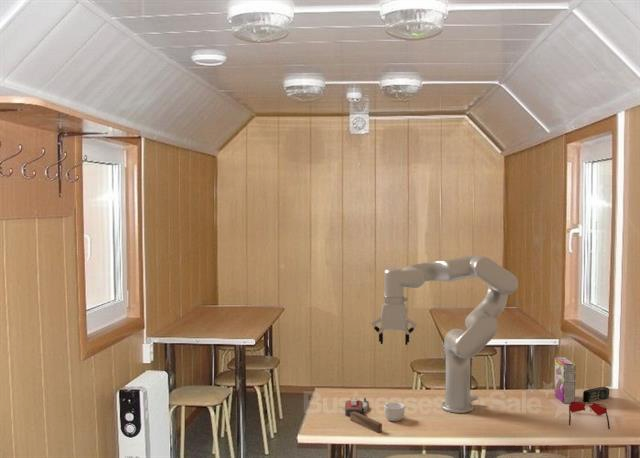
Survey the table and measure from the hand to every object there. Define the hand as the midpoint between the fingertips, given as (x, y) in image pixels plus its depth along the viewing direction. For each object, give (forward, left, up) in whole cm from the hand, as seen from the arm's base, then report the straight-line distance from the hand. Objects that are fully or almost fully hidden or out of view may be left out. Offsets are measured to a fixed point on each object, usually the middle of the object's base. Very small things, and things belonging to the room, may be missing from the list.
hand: (394, 343), depth 257 cm
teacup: (+5, +6, -27) cm, 28 cm away
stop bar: (+19, +6, -27) cm, 33 cm away
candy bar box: (-67, +30, -27) cm, 78 cm away
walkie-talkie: (+10, -11, -27) cm, 31 cm away
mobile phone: (-78, +38, -27) cm, 91 cm away
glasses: (-53, +50, -28) cm, 78 cm away
